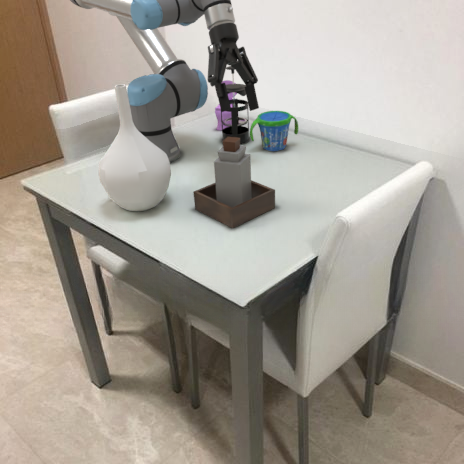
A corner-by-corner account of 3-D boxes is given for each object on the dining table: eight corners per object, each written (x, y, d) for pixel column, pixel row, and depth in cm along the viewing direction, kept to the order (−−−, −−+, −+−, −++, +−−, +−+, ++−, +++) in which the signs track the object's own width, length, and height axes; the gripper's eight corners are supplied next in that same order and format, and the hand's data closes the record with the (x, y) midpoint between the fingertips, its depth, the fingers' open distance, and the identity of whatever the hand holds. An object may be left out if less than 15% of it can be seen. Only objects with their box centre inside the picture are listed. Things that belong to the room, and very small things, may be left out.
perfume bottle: (217, 212, 128) (212, 143, 117) (227, 201, 133) (223, 133, 122) (242, 216, 126) (239, 145, 115) (251, 204, 131) (249, 135, 120)
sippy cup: (253, 156, 157) (252, 123, 151) (247, 144, 165) (246, 113, 159) (302, 151, 158) (303, 118, 152) (293, 139, 167) (294, 108, 160)
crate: (195, 209, 130) (193, 191, 127) (236, 191, 138) (235, 173, 135) (232, 228, 121) (231, 209, 118) (275, 207, 129) (275, 189, 126)
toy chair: (213, 130, 178) (210, 85, 169) (220, 122, 185) (217, 78, 175) (235, 131, 176) (233, 86, 167) (242, 123, 183) (240, 79, 173)
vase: (183, 190, 140) (170, 75, 122) (161, 221, 126) (142, 97, 108) (122, 186, 143) (100, 75, 125) (94, 217, 129) (65, 96, 111)
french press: (249, 145, 164) (247, 70, 150) (221, 146, 165) (216, 71, 151) (250, 133, 174) (248, 61, 160) (222, 134, 174) (218, 62, 160)
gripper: (203, 15, 121) (224, 106, 125) (258, 26, 140) (275, 105, 144) (180, 27, 125) (202, 115, 130) (237, 36, 144) (254, 112, 148)
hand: (240, 110), depth 137 cm, fingers open, 13 cm apart
